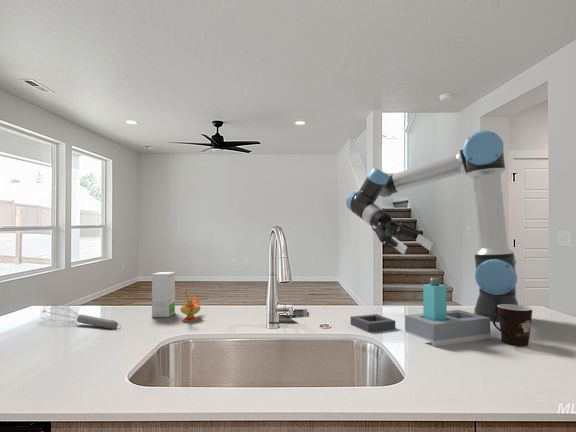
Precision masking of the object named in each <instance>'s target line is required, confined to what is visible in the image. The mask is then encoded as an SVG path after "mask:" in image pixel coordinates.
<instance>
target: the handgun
mask: <svg viewBox="0 0 576 432" xmlns="http://www.w3.org/2000/svg"><path fill="white" fill-rule="evenodd" d="M293 309H294V311H293V316H292V317H290V316H289V315H288V314H287V315H279V322H280V323H279V324H298V322H297V321H296V320H294V319H297V318H308V309H307V308H304V309H303V308H301V309H300V308H293Z"/></svg>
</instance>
